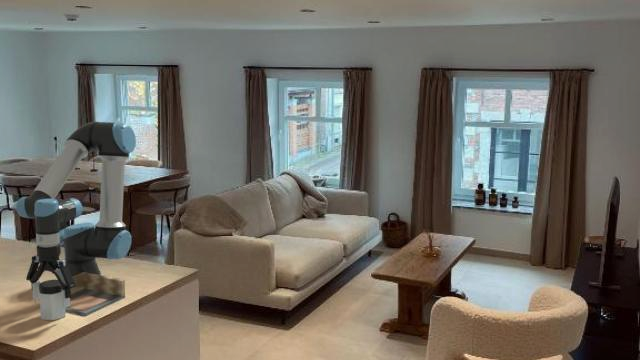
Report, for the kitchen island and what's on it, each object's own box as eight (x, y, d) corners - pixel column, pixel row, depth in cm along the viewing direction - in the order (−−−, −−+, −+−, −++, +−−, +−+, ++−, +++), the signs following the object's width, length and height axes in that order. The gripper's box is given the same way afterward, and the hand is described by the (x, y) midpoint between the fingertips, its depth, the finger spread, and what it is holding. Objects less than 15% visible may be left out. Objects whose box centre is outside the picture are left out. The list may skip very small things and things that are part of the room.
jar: (59, 309, 227) (58, 277, 225) (71, 315, 222) (69, 282, 220) (35, 316, 221) (33, 283, 218) (46, 322, 215) (44, 289, 213)
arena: (44, 306, 230) (42, 287, 229) (84, 289, 248) (83, 272, 247) (86, 315, 222) (85, 296, 221) (125, 297, 240) (124, 279, 239)
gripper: (12, 242, 218) (16, 301, 221) (67, 251, 208) (70, 313, 212) (30, 237, 225) (34, 294, 228) (84, 246, 215) (87, 305, 218)
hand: (51, 303), depth 220 cm, fingers open, 13 cm apart
